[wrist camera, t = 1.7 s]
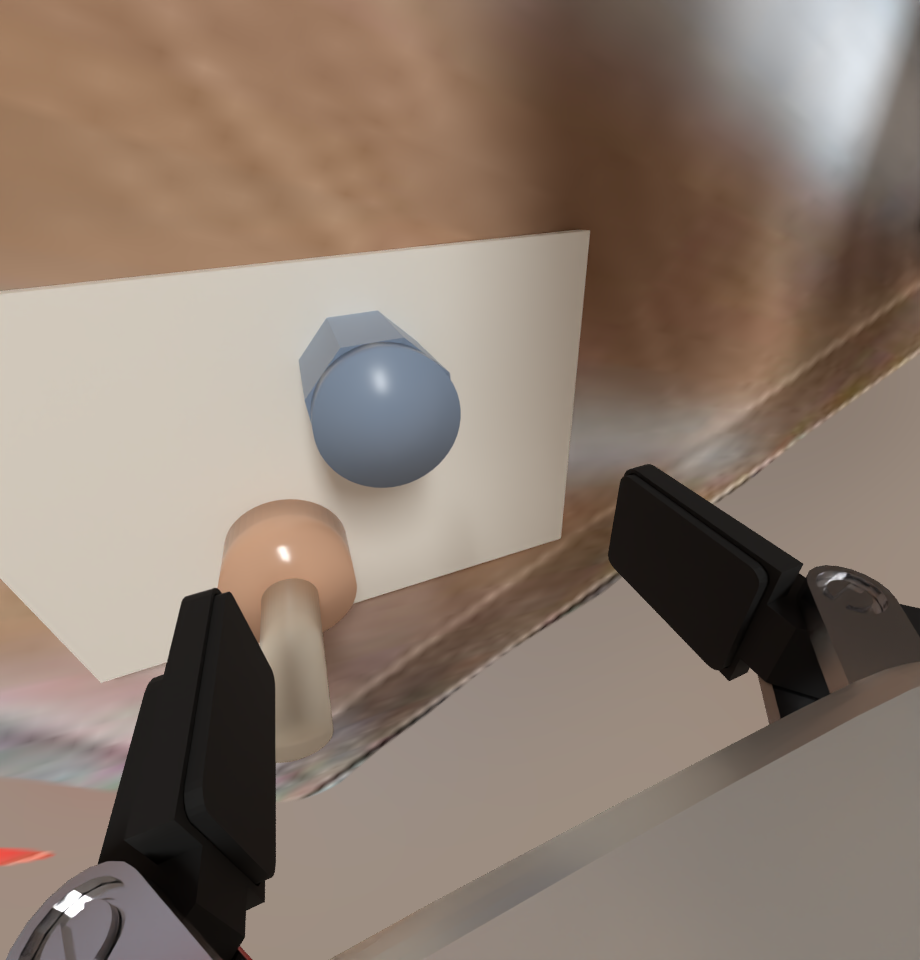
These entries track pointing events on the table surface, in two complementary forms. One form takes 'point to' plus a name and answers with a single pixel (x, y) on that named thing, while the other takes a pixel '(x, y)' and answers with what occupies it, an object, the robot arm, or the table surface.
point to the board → (268, 426)
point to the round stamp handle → (292, 608)
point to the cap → (377, 401)
